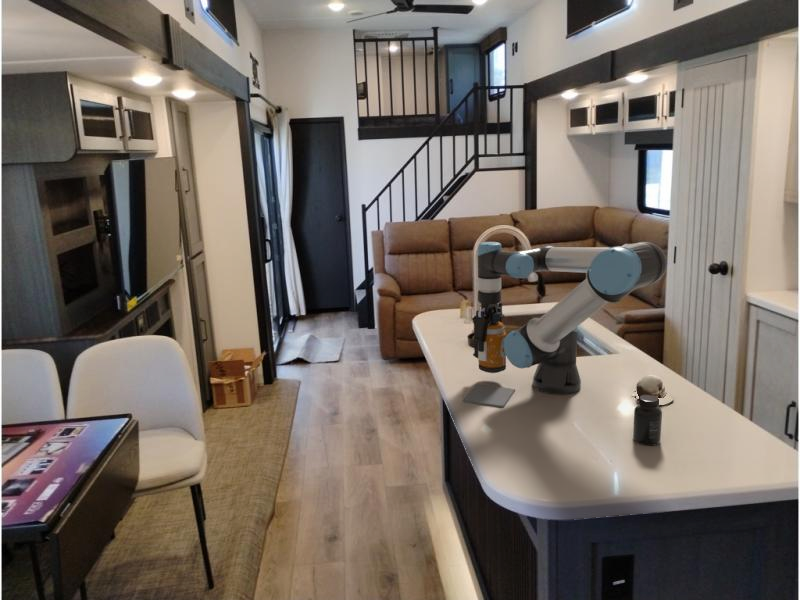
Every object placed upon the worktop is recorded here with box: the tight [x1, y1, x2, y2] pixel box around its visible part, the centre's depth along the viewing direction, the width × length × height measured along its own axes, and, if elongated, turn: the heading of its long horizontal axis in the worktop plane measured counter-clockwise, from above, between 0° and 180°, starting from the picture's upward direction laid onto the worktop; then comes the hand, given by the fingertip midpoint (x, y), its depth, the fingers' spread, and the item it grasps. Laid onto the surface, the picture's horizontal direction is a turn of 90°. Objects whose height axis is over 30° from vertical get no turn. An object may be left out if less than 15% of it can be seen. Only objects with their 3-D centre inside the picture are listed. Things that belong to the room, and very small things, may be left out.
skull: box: [633, 374, 668, 398], centre depth 193 cm, size 12×10×10 cm
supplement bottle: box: [632, 395, 663, 446], centre depth 165 cm, size 7×7×12 cm
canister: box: [471, 312, 507, 374], centre depth 207 cm, size 9×11×20 cm
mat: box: [462, 383, 516, 408], centre depth 198 cm, size 13×14×1 cm
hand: (489, 356), depth 209 cm, fingers closed on canister, 9 cm apart
